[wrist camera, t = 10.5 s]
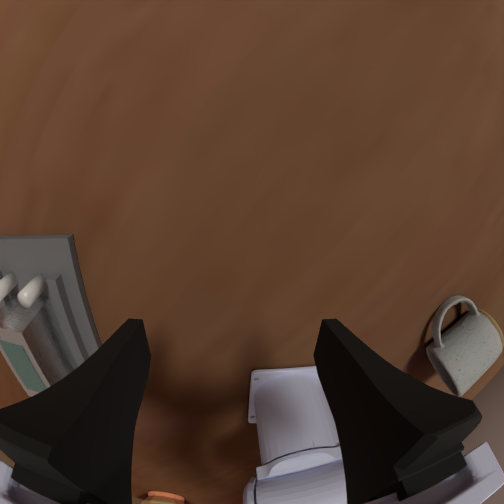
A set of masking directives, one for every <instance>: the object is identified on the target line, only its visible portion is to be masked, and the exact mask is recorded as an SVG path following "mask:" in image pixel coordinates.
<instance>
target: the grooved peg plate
mask: <svg viewBox="0 0 504 504" xmlns="http://www.w3.org/2000/svg"><path fill="white" fill-rule="evenodd" d="M14 294H18V300H19V302H20V304H21V305H22V306H24V307H25V308H29V307H30V306H31V305H32V304H33V302H34V301H35V300H36V299H37V298H38V297H39V296H40V297H49V298H50V300H51V303H52V306H53V309H54V311H55V314H56V317H57V319H58V322H59V325H60V327H61V330H62V332H63V334H64V337H65V339H66V342H67V344H68V346H69V348H70V351H71V353H72V355H73V357H74V359H75V362H76V364H77V366H78V367H79V366H80V365H81V364H82V363H83V362H84V361H86V360H87V359H88V358H89V357H90V356H91V355H92V354H93V353H94V352H96V351H97V350H98V349H99V348H100V347H101V346H102V344H101V341H100V338H99V336H98V333H97V330H96V326H95V323H94V320H93V317H92V314H91V310H90V307H89V304H88V300H87V296H86V293H85V289H84V285H83V281H82V277H81V273H80V268H79V264H78V259H77V254H76V249H75V244H74V239H73V234H63V235H22V236H0V307H1V308H2V307H3V306H4V305H5V304H6V303H7V301H8V300H9V299H10V298H11V297H12V296H13V295H14Z"/></svg>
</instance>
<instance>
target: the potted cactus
mask: <svg viewBox="0 0 504 504" xmlns="http://www.w3.org/2000/svg"><path fill="white" fill-rule="evenodd" d="M184 500H185V499H184V498H183V497H182V496H178V495H175V494H171V493H166V492H157V491H152V492H148V497H147V498H146V499H145V500H144V501H143V502H142V503H141V504H185V503H184Z"/></svg>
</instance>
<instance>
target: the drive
mask: <svg viewBox="0 0 504 504" xmlns="http://www.w3.org/2000/svg"><path fill="white" fill-rule="evenodd" d="M0 351H1V352H2V354H3V356H4V358H5V360H6V361H7V363H8V365H9V366H10V368H11V370H12V371H13V373H14V374H15V376H16V378H17V379H18V381H19V382H20V384H21V385H22V387H23V388H24V390H25V391H26V393H27V394H28V395H29V396H31V397H32V396H34V395H36V394H38V393H40V392H42V391H43V390H45V389H47V388H48V387H50V386H52V385H53V384H55V383H56V382H58V381H60V380H61V379H63V378H64V377H65V376H67V375H68V374H70V373H71V372H72V371H74V370H75V369H76V368H77V367H78V366H77V364H76V362H75V359H74V357H73V355H72V353H71V351H70V348H69V346H68V344H67V342H66V339H65V337H64V334H63V332H62V330H61V327H60V325H59V322H58V319H57V317H56V314H55V311H54V309H53V306H52V303H51V300H50V298H49V297H40V296H39V297H38V298H37V299H36V300H35V301H34V302H33V304H32V305H31V306H30V307H29V308H25V307H24V306H22V305H21V304H20V302H19V300H18V294H14V295H13V296H12V297H11V298H10V299H9V300H8V301H7V303H6V304H5V305H4V306H3V307H2V308H1V309H0Z"/></svg>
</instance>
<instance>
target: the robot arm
mask: <svg viewBox="0 0 504 504" xmlns="http://www.w3.org/2000/svg"><path fill="white" fill-rule="evenodd" d="M150 360H151V354H150V350H149V346H148V342H147V337H146V333H145V328H144V324H143V320H141V319H128V320H127V321H126V322H125V323H124V324H123V325H122V326H121V327H120V328H119V329H118V330H117V331H116V332H115V333H114V334H113V335H112V336H111V337H110V338H109V339H108V340H107V341H106V342H105V343H104V344H103V345H102V346H101V347H100V348H99V349H98V350H97V351H96V352H94V353H93V354H92V355H91V356H90V357H89V358H88V359H87V360H86V361H84V362H83V363H82V364H81V365H80V366H79V367H77V368H76V369H75V370H74V371H72V372H71V373H70V374H68V375H67V376H65V377H64V378H63V379H61V380H60V381H58V382H56V383H55V384H53V385H52V386H50V387H48V388H47V389H45V390H43V391H42V392H40V393H38V394H36V395H34V396H32V397H30V398H28V399H25V400H23V401H21V402H18V403H16V404H13V405H10V406H7V407H5V408H1V409H0V450H1V451H2V452H4V453H5V454H6V455H7V456H8V457H9V458H10V459H11V460H13V461H14V462H15V465H14V468H13V467H11V466H10V465H8V464H7V463H5V462H3V461H2V460H0V504H132V495H131V465H132V449H133V439H134V431H135V425H136V420H137V416H138V412H139V408H140V405H141V401H142V397H143V393H144V390H145V386H146V382H147V379H148V373H149V367H150ZM314 360H315V365H316V366H310V367H298V368H284V369H265V370H254V371H252V372H251V382H250V396H249V410H248V422H249V423H257V431H258V439H259V448H260V456H261V464H262V466H260V467H256V473H257V477H252V478H251V479H250V480H249V481H248V483H247V485H246V486H245V488H244V492H243V504H481V503H482V502H484V501H485V500H486V499H487V498H488V497H489V496H491V495H492V494H493V493H494V492H495V491H497V490H498V489H499V488H500V487H501V486H502V485H503V484H504V474H503V472H502V469H501V467H500V465H499V464H498V462H497V460H496V458H495V456H494V454H493V453H492V451H491V449H490V447H489V445H488V443H487V442H484V443H483V444H481V445H479V446H478V447H476V448H474V449H473V450H471V451H470V452H468V453H467V454H466V455H464V456H463V455H462V453H461V451H462V450H463V449H464V446H463V444H462V441H463V440H464V439H465V438H466V437H467V436H468V435H469V434H470V433H471V432H472V431H473V430H474V429H475V428H476V427H477V426H478V424H479V423H480V421H481V419H482V415H481V413H480V411H479V410H478V408H477V407H476V405H475V404H474V402H473V401H472V400H468V399H465V398H461V397H457V396H454V395H451V394H448V393H445V392H442V391H440V390H437V389H435V388H432V387H430V386H428V385H426V384H424V383H422V382H420V381H418V380H416V379H414V378H412V377H410V376H409V375H407V374H405V373H404V372H402V371H401V370H399V369H397V368H396V367H394V366H393V365H391V364H390V363H388V362H387V361H386V360H384V359H383V358H382V357H380V356H379V355H378V354H377V353H375V352H374V351H373V350H372V349H370V348H369V347H368V346H367V345H366V344H364V343H363V342H362V341H361V340H360V339H359V338H358V337H356V336H355V335H354V334H353V333H352V332H351V331H350V330H349V329H347V328H346V327H345V326H344V325H343V324H342V323H341V322H339V321H338V320H337V319H323V320H322V323H321V327H320V331H319V335H318V339H317V343H316V347H315V351H314Z"/></svg>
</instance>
